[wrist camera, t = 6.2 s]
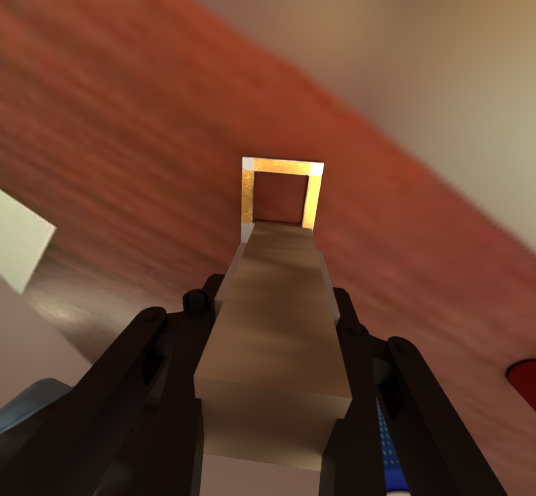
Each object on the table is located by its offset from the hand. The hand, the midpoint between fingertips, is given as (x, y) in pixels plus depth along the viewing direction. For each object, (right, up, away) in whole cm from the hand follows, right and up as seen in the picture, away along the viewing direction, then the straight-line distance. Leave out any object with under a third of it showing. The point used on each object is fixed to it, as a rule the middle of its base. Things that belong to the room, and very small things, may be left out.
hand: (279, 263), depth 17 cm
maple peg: (0, +1, +2) cm, 2 cm away
